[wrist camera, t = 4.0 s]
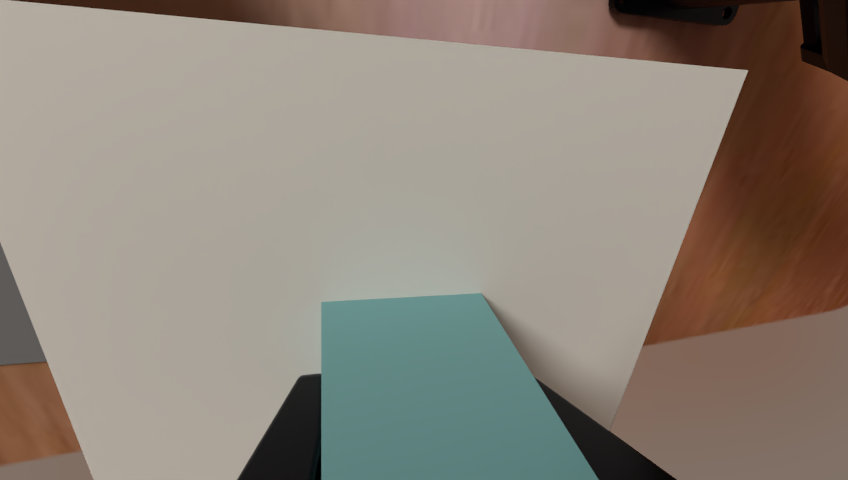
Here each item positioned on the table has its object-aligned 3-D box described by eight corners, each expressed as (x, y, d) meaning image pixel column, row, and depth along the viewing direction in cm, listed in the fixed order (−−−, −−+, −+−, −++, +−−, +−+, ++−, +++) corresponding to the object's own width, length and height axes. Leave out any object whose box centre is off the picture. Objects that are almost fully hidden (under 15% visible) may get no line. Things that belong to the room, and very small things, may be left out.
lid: (657, 63, 9) (1159, 99, 4) (547, 433, 14) (692, 685, 9) (28, 5, 6) (-1703, -202, 1) (166, 489, 11) (20, 910, 6)
